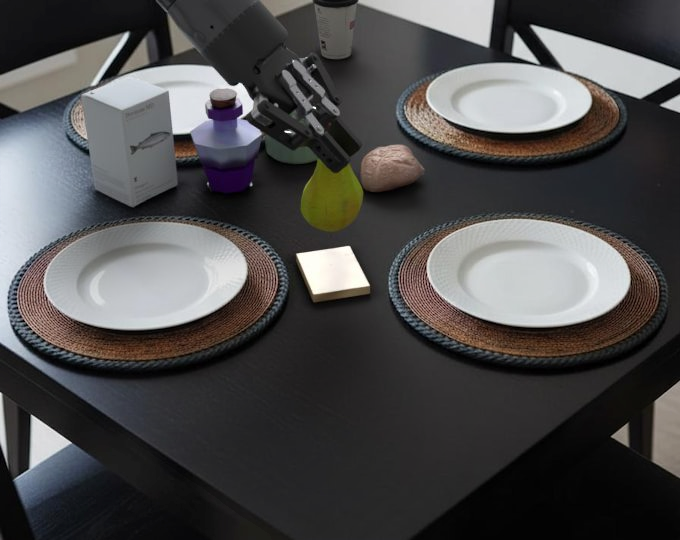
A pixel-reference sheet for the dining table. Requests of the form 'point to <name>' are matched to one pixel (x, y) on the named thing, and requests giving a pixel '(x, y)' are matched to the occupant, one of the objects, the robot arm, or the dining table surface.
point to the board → (332, 274)
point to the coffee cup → (335, 26)
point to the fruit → (331, 198)
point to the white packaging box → (130, 140)
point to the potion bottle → (226, 144)
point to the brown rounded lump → (389, 168)
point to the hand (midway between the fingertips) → (349, 159)
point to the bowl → (289, 150)
